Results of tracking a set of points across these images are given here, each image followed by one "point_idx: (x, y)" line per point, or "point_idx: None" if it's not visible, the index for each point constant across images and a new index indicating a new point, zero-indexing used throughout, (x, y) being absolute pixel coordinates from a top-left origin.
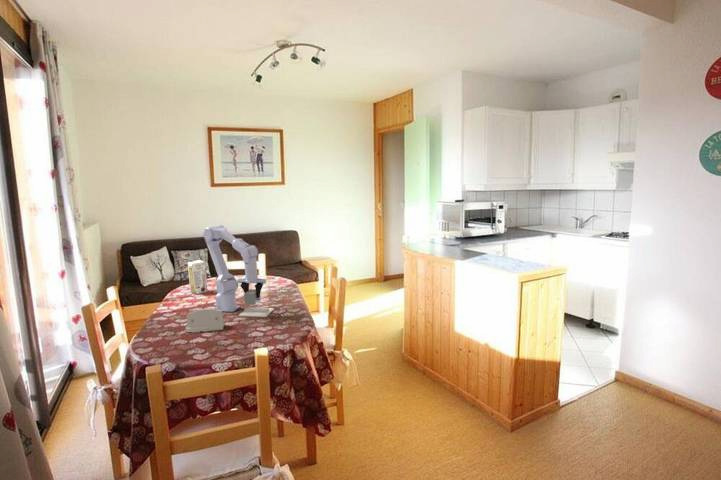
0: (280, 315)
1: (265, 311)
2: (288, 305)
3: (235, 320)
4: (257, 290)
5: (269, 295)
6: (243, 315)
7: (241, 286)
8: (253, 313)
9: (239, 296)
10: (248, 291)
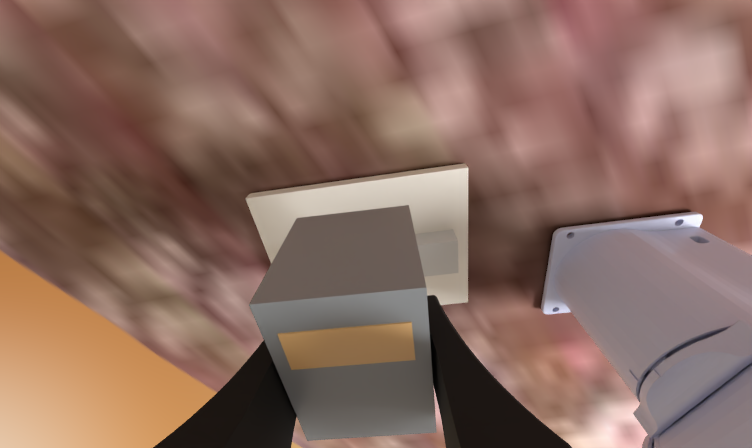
0: (178, 241)
1: None
2: None
3: (446, 62)
4: (228, 394)
5: None
6: (427, 170)
7: (546, 444)
8: None
9: (604, 419)
10: (411, 372)
